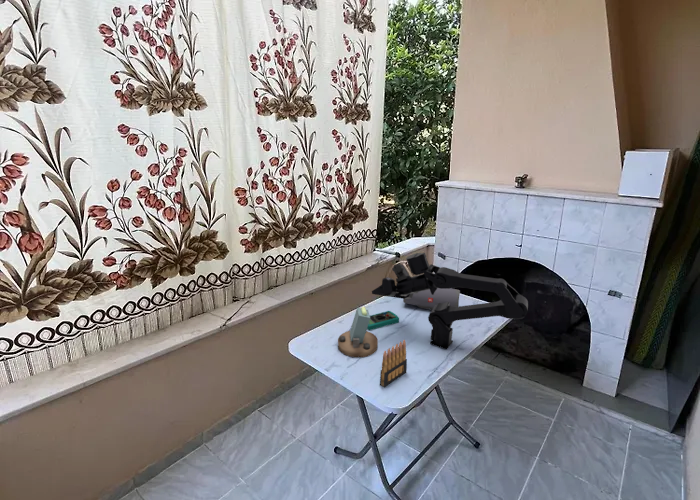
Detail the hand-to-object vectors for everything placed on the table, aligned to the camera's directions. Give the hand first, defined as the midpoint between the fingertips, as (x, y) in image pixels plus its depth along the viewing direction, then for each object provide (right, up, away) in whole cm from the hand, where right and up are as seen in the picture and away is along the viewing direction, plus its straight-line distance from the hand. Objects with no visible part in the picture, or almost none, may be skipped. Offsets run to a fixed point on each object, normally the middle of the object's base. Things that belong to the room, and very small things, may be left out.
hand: (378, 293), depth 141 cm
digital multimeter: (+1, -13, +9) cm, 16 cm away
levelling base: (-9, -18, -8) cm, 21 cm away
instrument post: (-9, -15, -8) cm, 20 cm away
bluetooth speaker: (+24, -9, +22) cm, 34 cm away
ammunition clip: (+3, -24, -25) cm, 34 cm away
